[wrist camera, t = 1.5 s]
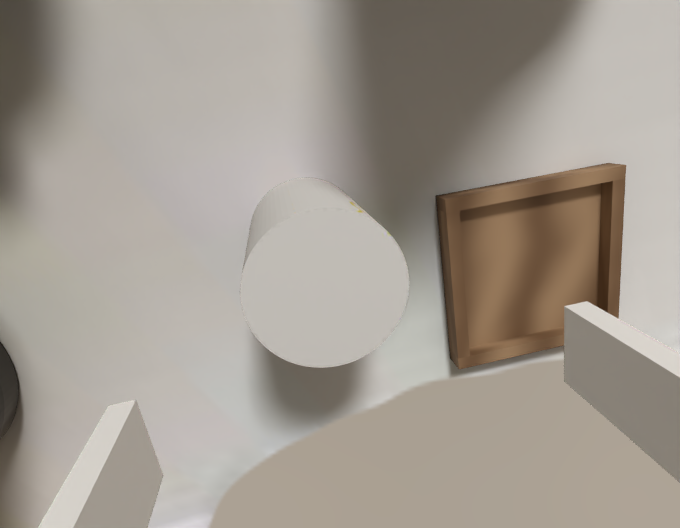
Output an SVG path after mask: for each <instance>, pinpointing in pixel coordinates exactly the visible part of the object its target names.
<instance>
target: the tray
mask: <svg viewBox="0 0 680 528" xmlns="http://www.w3.org/2000/svg"><path fill="white" fill-rule="evenodd" d="M625 174H626V165H620V164H612V163H606V164H601V165H596V166H590V167H585V168H580V169H575V170H569V171H564V172H559V173H554V174H548V175H543V176H538V177H532V178H527V179H522V180H517V181H511V182H506V183H501V184H495V185H490V186H485V187H480V188H474V189H469V190H464V191H458V192H453V193H448V194H443V195H437V196H436V201H437V212H438V224H439V235H440V246H441V257H442V269H443V280H444V291H445V303H446V314H447V325H448V336H449V348H450V358H451V360H452V361H453V362H454V364H455V365H456V366H457V367H458V369H463V368H468V367H472V366H476V365H481V364H485V363H489V362H494V361H498V360H502V359H507V358H511V357H515V356H520V355H524V354H529V353H533V352H537V351H542V350H546V349H550V348H555V347H559V346H563V345H564V306H567V305H572V304H577V303H581V302H586V301H588V302H589V303H591V304H593V305H595V306H597V307H598V308H600V309H602V310H604V311H605V312H607V313H609V314H611V315H613V316H614V317H616V318H618V317H619V296H620V276H621V255H622V235H623V215H624V194H625Z"/></svg>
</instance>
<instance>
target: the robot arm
mask: <svg viewBox="0 0 680 528" xmlns="http://www.w3.org/2000/svg"><path fill="white" fill-rule="evenodd" d="M564 382H565V383H566V384H568V385H569V386H570V387H571V388H572V389H573V390H574V391H576V392H577V393H578V394H579V395H580V396H581V397H582V398H584V399H585V400H586V401H587V402H588V403H589V404H590V405H592V406H593V407H594V408H595V409H596V410H597V411H598V412H600V413H601V414H602V415H603V416H604V417H605V418H607V419H608V420H609V421H610V422H611V423H612V424H613V425H614V426H616V427H617V428H618V429H619V430H620V431H621V432H623V433H624V434H625V435H626V436H627V437H628V438H629V439H630V440H632V441H633V442H634V443H635V444H636V445H637V446H639V447H640V448H641V449H642V450H643V451H644V452H645V453H646V454H648V455H649V456H650V457H651V458H652V459H653V460H654V461H656V462H657V463H658V464H659V465H660V466H661V467H662V468H664V469H665V470H666V471H667V472H668V473H669V474H670V475H672V476H673V477H674V478H675V479H676V480H677V481H678V482H680V353H679V352H677V351H675V350H674V349H672V348H670V347H668V346H666V345H665V344H663V343H661V342H659V341H657V340H656V339H654V338H652V337H650V336H648V335H647V334H645V333H643V332H641V331H640V330H638V329H636V328H634V327H632V326H631V325H629V324H627V323H625V322H623V321H622V320H620V319H618V318H616V317H614V316H613V315H611V314H609V313H607V312H605V311H604V310H602V309H600V308H598V307H597V306H595V305H593V304H591V303H589V302H588V301H586V302H581V303H577V304H572V305H567V306H564ZM17 403H18V383H17V378H16V374H15V370H14V367H13V365H12V362H11V360H10V358H9V356H8V354H7V352H6V351H5V349H4V347H3V346H2V345H1V343H0V439H1V438H2V436H3V435H4V434H5V433H6V431H7V429H8V428H9V426H10V424H11V422H12V420H13V418H14V415H15V412H16V408H17ZM162 478H163V473H162V470H161V468H160V465H159V462H158V459H157V456H156V454H155V451H154V448H153V445H152V443H151V440H150V437H149V434H148V432H147V429H146V426H145V423H144V420H143V418H142V415H141V412H140V409H139V407H138V404H137V401H136V400H132V401H128V402H123V403H119V404H114V405H110V406H108V407H107V409H106V411H105V413H104V414H103V416H102V418H101V420H100V421H99V423H98V425H97V426H96V428H95V430H94V432H93V433H92V435H91V437H90V439H89V440H88V442H87V444H86V445H85V447H84V449H83V451H82V452H81V454H80V456H79V458H78V459H77V461H76V463H75V465H74V466H73V468H72V470H71V471H70V473H69V475H68V477H67V478H66V480H65V482H64V484H63V485H62V487H61V489H60V490H59V492H58V494H57V496H56V497H55V499H54V501H53V503H52V504H51V506H50V508H49V509H48V511H47V513H46V515H45V516H44V518H43V520H42V522H41V523H40V525H39V527H38V528H147V527H148V524H149V521H150V517H151V514H152V511H153V508H154V504H155V501H156V498H157V495H158V491H159V488H160V485H161V482H162Z"/></svg>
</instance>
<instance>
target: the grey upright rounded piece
mask: <svg viewBox="0 0 680 528" xmlns="http://www.w3.org/2000/svg"><path fill="white" fill-rule="evenodd" d="M408 295H409V273H408V267H407V264H406V260H405V258H404V255H403V253H402V251H401V249H400V247H399V245H398V244H397V242H396V241H395V239H394V238H393V237H392V236H391V234H390V233H389V232H388V231H387V230H386V229H385V228H383V227H382V226H381V225H380V224H379V223H378V222H377V221H376V220H374V219H373V218H372V217H371V216H370V215H369V214H368V213H367V212H366V211H364V210H363V209H362V208H361V207H360V206H359V205H358V204H357V203H356V202H354V201H353V200H352V199H351V198H350V197H349V196H348V195H347V194H345V193H344V192H343V191H342V190H341V189H340V188H338V187H337V186H335V185H333V184H331V183H329V182H327V181H324V180H321V179H316V178H297V179H292V180H289V181H286V182H283V183H281V184H279V185H277V186H276V187H274V188H273V189H272V190H270V191H269V192H268V193H267V194H266V195H265V196H264V197H263V198H262V200H261V201H260V202H259V204H258V205H257V207H256V209H255V211H254V214H253V217H252V220H251V226H250V231H249V237H248V243H247V248H246V254H245V260H244V265H243V271H242V277H241V284H240V300H241V306H242V310H243V314H244V317H245V319H246V322H247V324H248V326H249V328H250V330H251V331H252V333H253V334H254V336H255V337H256V338H257V339H258V340H259V342H260V343H261V344H262V345H263V346H264V347H266V348H267V349H268V350H269V351H270V352H272V353H273V354H275V355H276V356H278V357H280V358H282V359H284V360H286V361H288V362H291V363H294V364H297V365H301V366H306V367H316V368H326V367H335V366H340V365H344V364H348V363H351V362H353V361H356V360H358V359H360V358H362V357H364V356H366V355H368V354H369V353H371V352H372V351H374V350H375V349H377V348H378V347H379V346H380V345H381V344H382V343H383V342H384V341H386V339H387V338H388V337H389V336H390V335H391V334H392V332H393V331H394V330H395V328H396V327H397V325H398V323H399V322H400V320H401V318H402V316H403V313H404V311H405V308H406V304H407V300H408Z"/></svg>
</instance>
